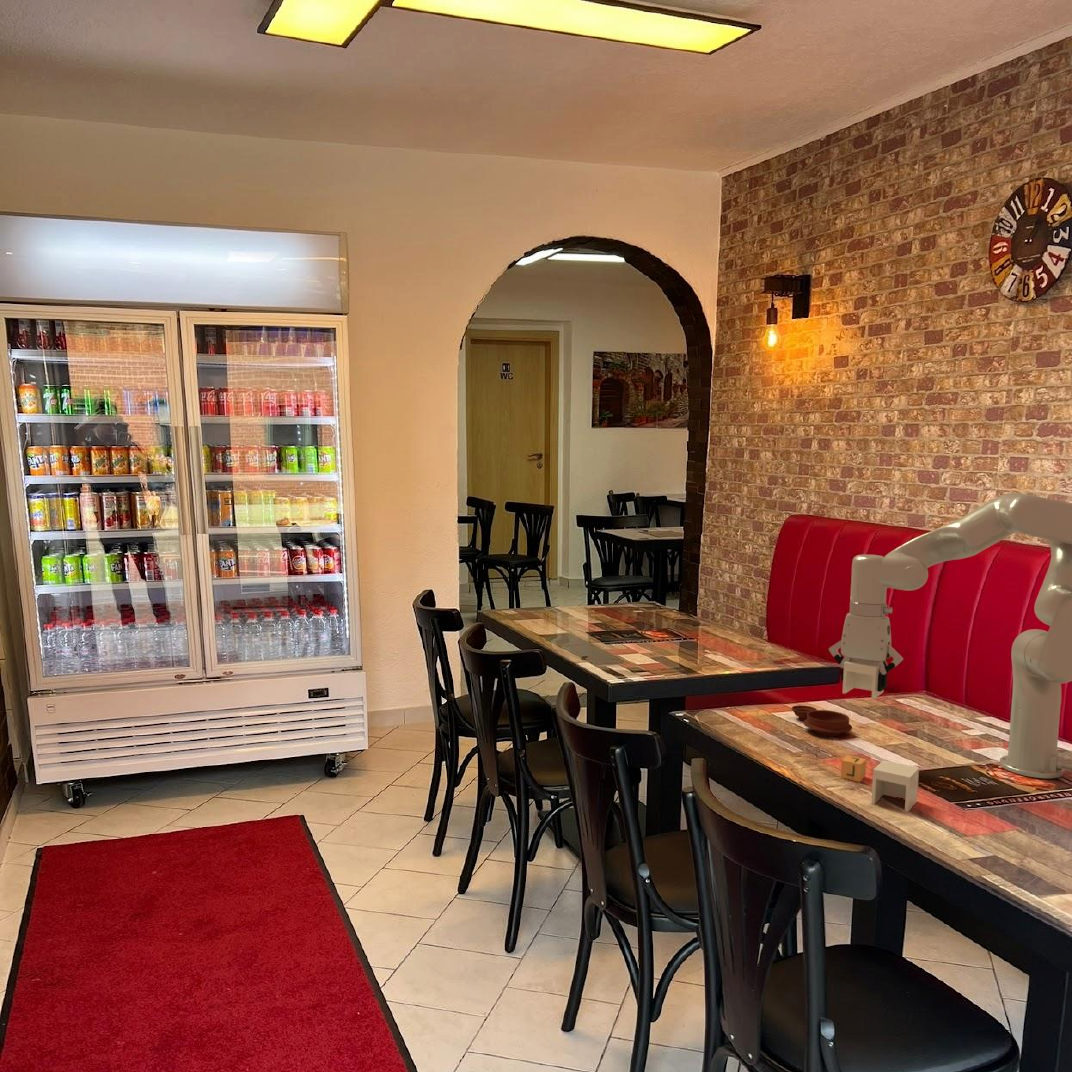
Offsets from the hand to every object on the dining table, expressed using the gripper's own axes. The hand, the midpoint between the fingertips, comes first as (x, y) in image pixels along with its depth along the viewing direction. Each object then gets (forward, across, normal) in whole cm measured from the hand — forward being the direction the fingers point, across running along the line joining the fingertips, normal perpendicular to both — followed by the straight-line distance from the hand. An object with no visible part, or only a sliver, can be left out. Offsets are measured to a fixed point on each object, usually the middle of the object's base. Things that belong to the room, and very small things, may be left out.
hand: (863, 686), depth 203 cm
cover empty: (+17, -13, +20) cm, 30 cm away
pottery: (+18, +16, -20) cm, 31 cm away
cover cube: (+1, 0, 0) cm, 1 cm away
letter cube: (+18, -2, +11) cm, 21 cm away
